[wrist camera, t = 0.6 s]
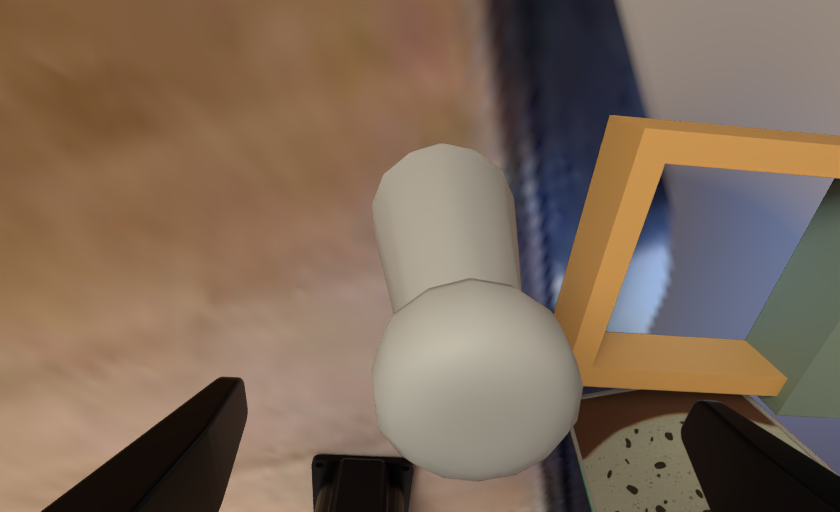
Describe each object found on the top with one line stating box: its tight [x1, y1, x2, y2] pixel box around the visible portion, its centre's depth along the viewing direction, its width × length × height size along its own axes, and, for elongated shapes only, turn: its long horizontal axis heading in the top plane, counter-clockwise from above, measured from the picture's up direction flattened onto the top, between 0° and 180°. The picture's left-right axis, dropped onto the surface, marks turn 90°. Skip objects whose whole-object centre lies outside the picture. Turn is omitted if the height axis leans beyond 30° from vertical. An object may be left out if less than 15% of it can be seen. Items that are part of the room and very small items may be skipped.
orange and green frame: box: [554, 115, 840, 418], centre depth 20 cm, size 14×21×4 cm, turn 85°
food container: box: [570, 388, 839, 512], centre depth 22 cm, size 12×6×10 cm, turn 102°
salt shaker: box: [372, 143, 583, 481], centre depth 14 cm, size 6×6×13 cm
